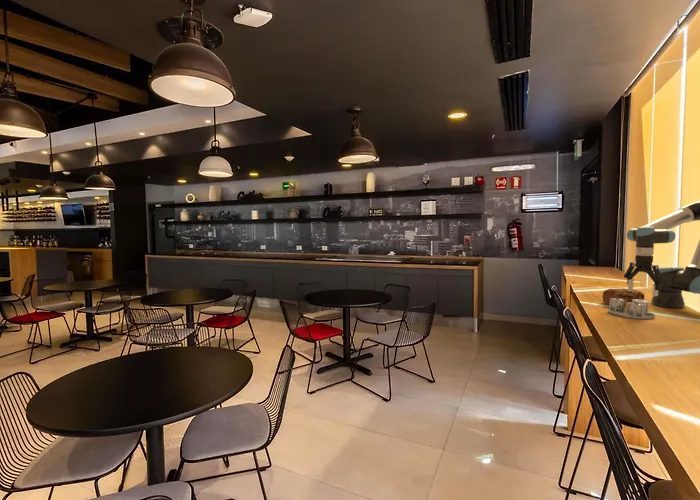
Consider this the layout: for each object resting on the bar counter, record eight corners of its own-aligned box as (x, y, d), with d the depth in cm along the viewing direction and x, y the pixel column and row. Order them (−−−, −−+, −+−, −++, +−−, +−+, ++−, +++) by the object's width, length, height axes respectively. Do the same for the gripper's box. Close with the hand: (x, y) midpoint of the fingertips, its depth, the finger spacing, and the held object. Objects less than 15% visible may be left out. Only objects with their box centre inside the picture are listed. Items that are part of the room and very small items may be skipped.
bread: (614, 307, 212) (615, 290, 211) (601, 302, 223) (602, 287, 222) (644, 306, 213) (646, 290, 212) (630, 302, 223) (631, 286, 222)
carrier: (628, 308, 209) (629, 295, 208) (664, 318, 189) (665, 303, 188) (599, 310, 205) (600, 297, 204) (633, 320, 185) (634, 305, 184)
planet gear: (638, 309, 202) (639, 299, 201) (650, 312, 195) (651, 301, 195) (628, 310, 201) (629, 299, 200) (640, 313, 194) (641, 302, 193)
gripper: (617, 253, 206) (615, 289, 209) (662, 258, 182) (660, 298, 184) (627, 252, 208) (626, 288, 210) (674, 257, 184) (672, 297, 186)
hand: (642, 293), depth 197 cm, fingers open, 13 cm apart
